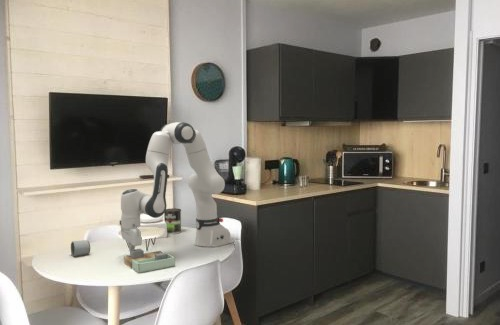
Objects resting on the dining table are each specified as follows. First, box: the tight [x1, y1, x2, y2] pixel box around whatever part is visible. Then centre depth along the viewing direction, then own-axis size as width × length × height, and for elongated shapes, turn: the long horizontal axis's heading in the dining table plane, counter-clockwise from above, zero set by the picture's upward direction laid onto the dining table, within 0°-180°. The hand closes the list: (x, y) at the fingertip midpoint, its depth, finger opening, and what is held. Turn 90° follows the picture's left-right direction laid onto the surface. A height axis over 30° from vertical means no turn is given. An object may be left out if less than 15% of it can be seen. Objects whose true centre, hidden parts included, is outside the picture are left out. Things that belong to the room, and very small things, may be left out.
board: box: [123, 250, 164, 269], centre depth 205 cm, size 18×10×3 cm, turn 123°
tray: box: [131, 253, 176, 274], centre depth 197 cm, size 17×9×4 cm, turn 123°
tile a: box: [155, 252, 169, 261], centre depth 199 cm, size 5×5×3 cm
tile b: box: [129, 248, 145, 259], centre depth 204 cm, size 5×5×3 cm
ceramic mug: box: [70, 239, 91, 258], centre depth 220 cm, size 11×8×8 cm
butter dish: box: [138, 213, 168, 240], centre depth 259 cm, size 18×18×16 cm
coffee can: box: [163, 207, 182, 235], centre depth 267 cm, size 10×10×14 cm
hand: (131, 251), depth 210 cm, fingers closed
